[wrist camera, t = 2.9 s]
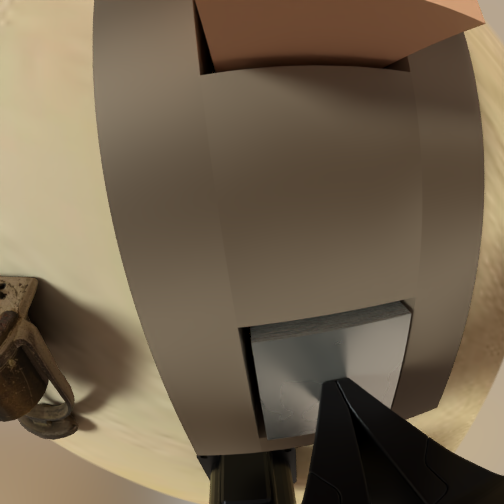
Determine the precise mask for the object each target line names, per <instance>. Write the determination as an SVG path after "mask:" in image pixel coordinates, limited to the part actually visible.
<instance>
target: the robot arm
mask: <svg viewBox="0 0 504 504" xmlns="http://www.w3.org/2000/svg"><path fill="white" fill-rule="evenodd" d="M197 458H198V460H199V462H200V464H201V466H202V467H203V469H204V471H205V473H206V474H207V476H208V478H209V480H210V498H209V504H296V499H295V492H294V486H293V483H295V482H296V481H297V480H296V450H295V448H289V449H282V450H274V451H266V452H256V453H245V454H230V455H197ZM301 504H504V476H502V475H499V474H496V473H493V472H491V471H489V470H487V469H485V468H482V467H480V466H478V465H476V464H474V463H472V462H470V461H468V460H466V459H464V458H462V457H460V456H458V455H456V454H455V453H453V452H451V451H449V450H448V449H446V448H445V447H443V446H442V445H440V444H439V443H437V442H436V441H434V440H433V439H431V438H428V436H427V435H426V434H424V433H423V432H421V431H420V430H419V429H417V428H416V427H414V426H413V425H412V424H410V423H409V422H407V421H406V420H405V419H403V418H402V417H401V416H399V415H398V414H396V413H395V412H394V411H392V410H391V409H390V408H388V407H387V406H386V405H384V404H383V403H382V402H380V401H379V400H378V399H376V398H375V397H374V396H372V395H371V394H370V393H368V392H367V391H366V390H364V389H363V388H362V387H360V386H359V385H358V384H357V383H355V382H354V381H353V380H351V379H350V378H344V379H339V380H336V381H329V382H324V383H322V385H321V392H320V401H319V409H318V417H317V424H316V431H315V438H314V445H313V451H312V457H311V463H310V469H309V474H308V479H307V484H306V488H305V493H304V497H303V500H302V503H301Z"/></svg>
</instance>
